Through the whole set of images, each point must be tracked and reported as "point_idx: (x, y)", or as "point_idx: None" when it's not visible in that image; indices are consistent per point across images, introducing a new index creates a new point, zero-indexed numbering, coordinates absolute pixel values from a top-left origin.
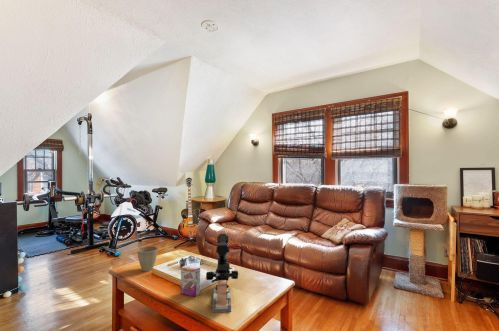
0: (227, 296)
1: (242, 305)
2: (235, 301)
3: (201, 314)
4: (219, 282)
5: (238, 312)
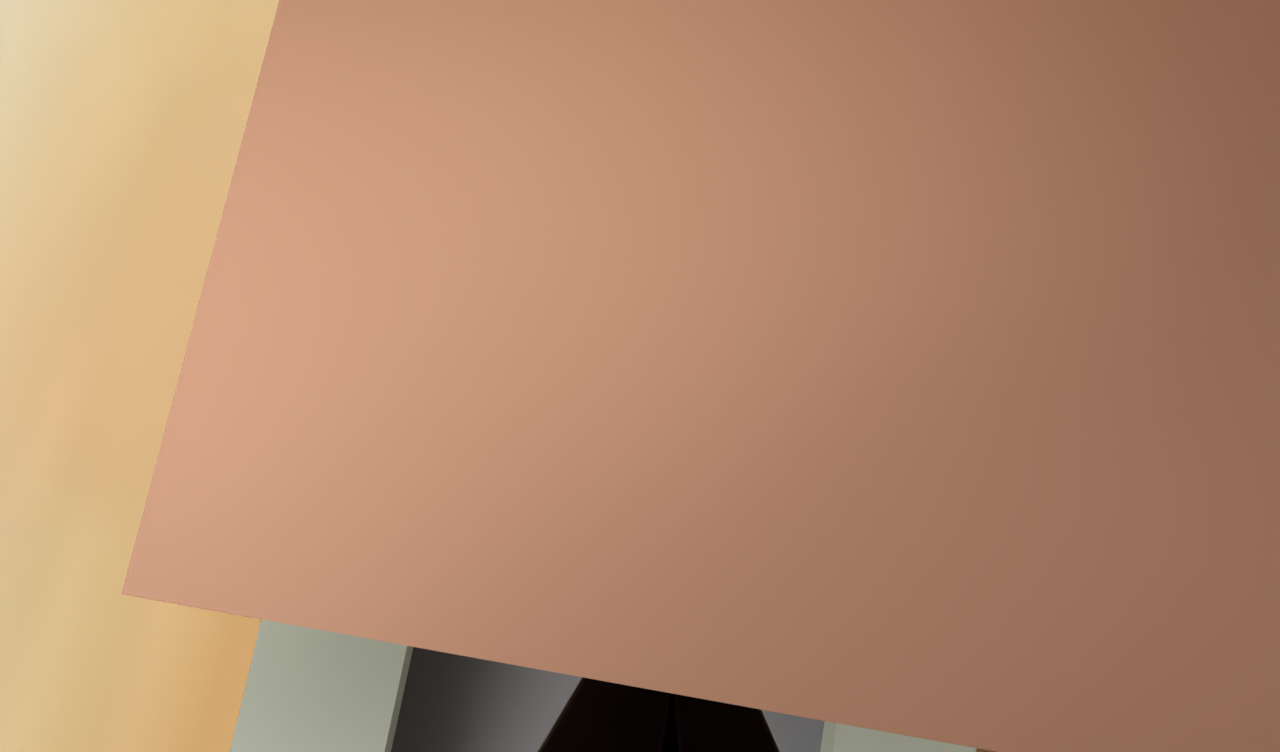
0: (396, 667)
1: (7, 363)
2: (148, 674)
3: None
4: (1266, 88)
5: (249, 40)
